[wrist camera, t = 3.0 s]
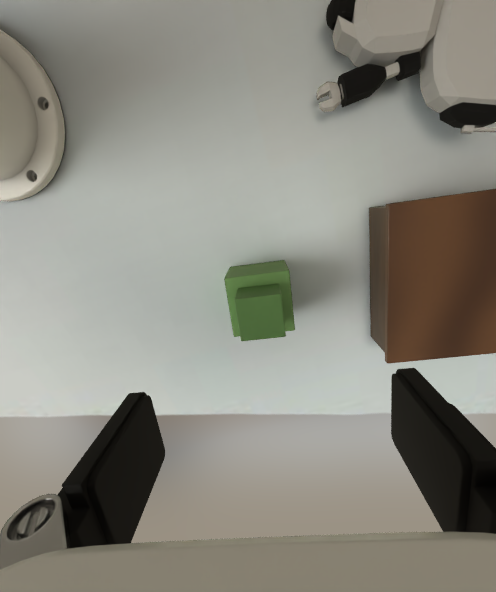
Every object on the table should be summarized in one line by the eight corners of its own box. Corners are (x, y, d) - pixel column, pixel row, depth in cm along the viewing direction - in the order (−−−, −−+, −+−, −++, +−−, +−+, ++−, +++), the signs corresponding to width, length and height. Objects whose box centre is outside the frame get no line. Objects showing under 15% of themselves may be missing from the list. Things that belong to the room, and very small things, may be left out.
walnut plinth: (367, 339, 28) (387, 363, 23) (365, 204, 24) (388, 204, 20) (504, 325, 27) (551, 347, 22) (524, 182, 23) (585, 176, 19)
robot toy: (306, 128, 23) (501, 146, 22) (312, 110, 19) (554, 131, 18) (337, -73, 20) (572, -64, 18) (353, -153, 15) (661, -147, 14)
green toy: (237, 317, 28) (230, 354, 21) (229, 266, 26) (219, 288, 19) (289, 311, 27) (299, 346, 20) (284, 259, 26) (293, 279, 19)
